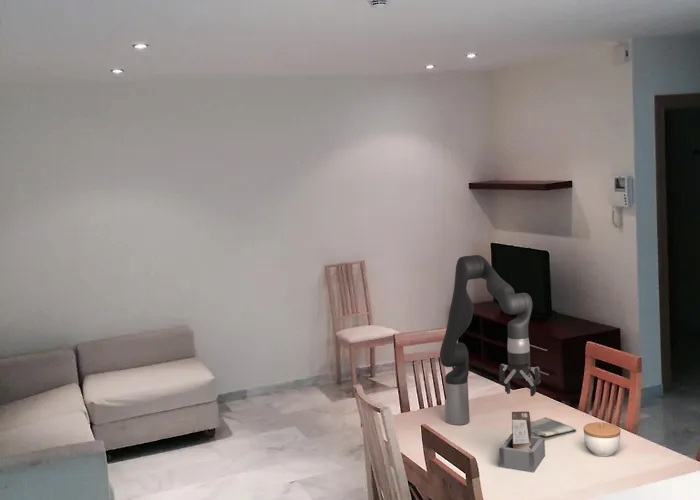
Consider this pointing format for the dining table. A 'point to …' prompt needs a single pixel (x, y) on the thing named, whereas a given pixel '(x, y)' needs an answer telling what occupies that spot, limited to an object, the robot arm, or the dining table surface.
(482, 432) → the dining table surface
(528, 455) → the grey open box
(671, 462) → the dining table surface
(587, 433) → the lidded bowl
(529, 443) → the coffee box
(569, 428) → the dish towel
